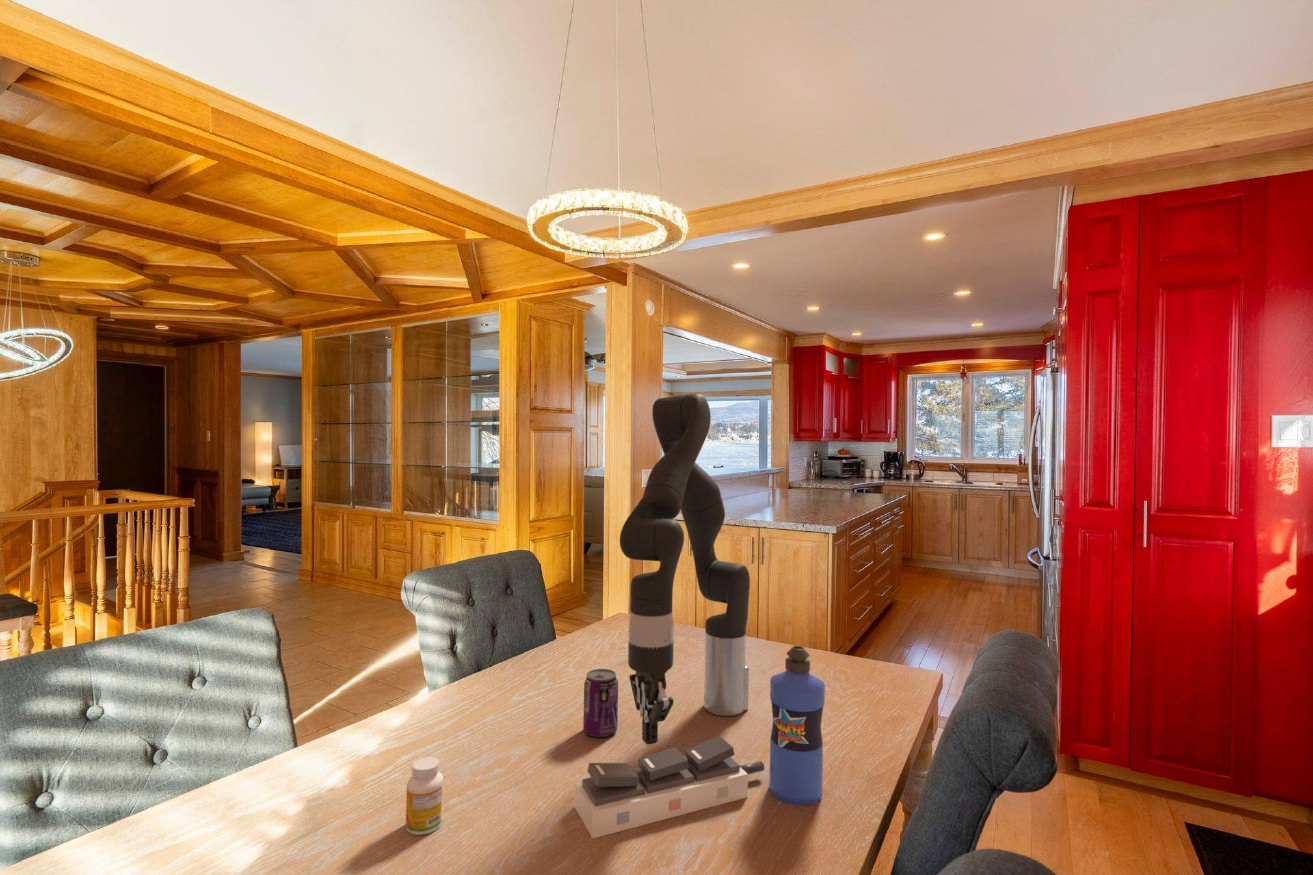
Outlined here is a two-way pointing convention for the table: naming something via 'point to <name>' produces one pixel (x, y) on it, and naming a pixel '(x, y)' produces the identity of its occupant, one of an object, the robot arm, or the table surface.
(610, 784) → the rocker
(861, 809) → the table surface
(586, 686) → the beverage can
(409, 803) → the supplement bottle
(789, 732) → the blue squeeze bottle
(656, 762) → the plate
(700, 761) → the rocker
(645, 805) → the power strip
